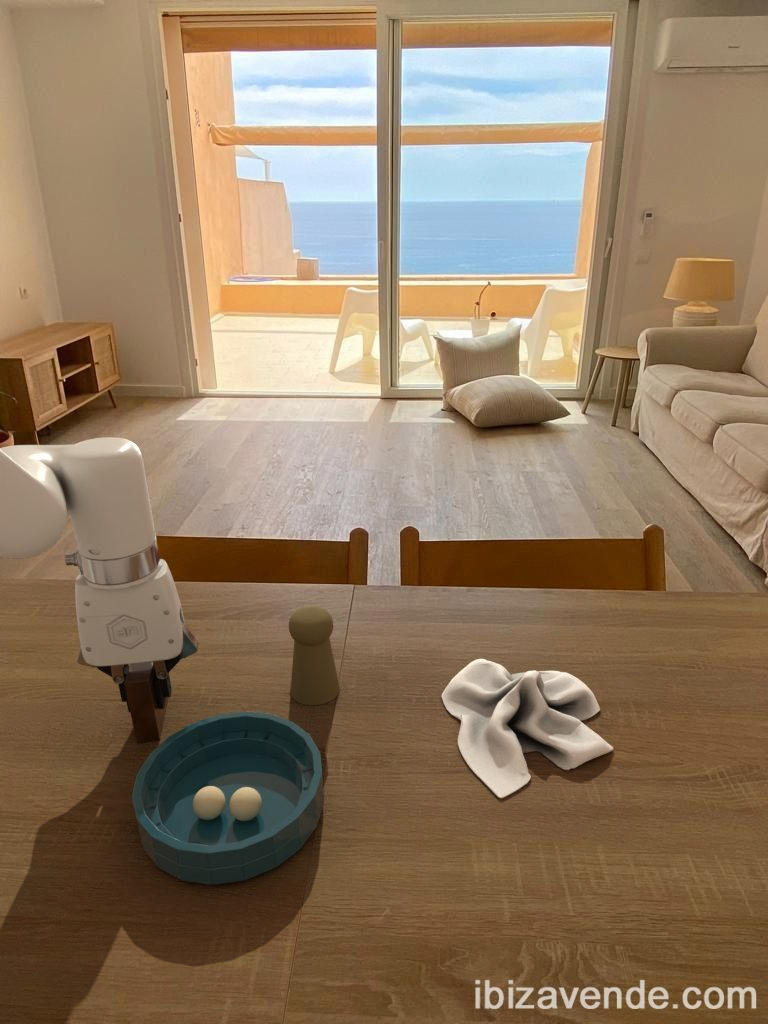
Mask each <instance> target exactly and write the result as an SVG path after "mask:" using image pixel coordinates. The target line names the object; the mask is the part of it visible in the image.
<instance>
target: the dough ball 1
mask: <svg viewBox="0 0 768 1024" xmlns="http://www.w3.org/2000/svg"><path fill="white" fill-rule="evenodd" d="M224 807H225V796H224V794H223V792H222V791H221V790H220V789H219V788H217V787H214V786H207V787H204V788H202V789H201V790H199V791H198V792H197V794H196V795H195V797H194V800H193V809H194V812H195V814H196V815H197V816H198V817H199V818H201V819H204V820H212V819H214V818H216V817H218V816H219V815H220V814H221V813H222V811H223V809H224Z"/></svg>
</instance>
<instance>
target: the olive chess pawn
mask: <svg viewBox="0 0 768 1024" xmlns="http://www.w3.org/2000/svg"><path fill="white" fill-rule="evenodd" d="M333 630H334V619H333V616H332V614H331V613H330V611H328V610H327V608H325V607H322V606H319V605H306V606H302V607H300V608H298V609H296V610H295V611H294V612H293V613H292V614H291V616H290V618H289V621H288V631H289V634H290V636H291V638H292V640H293V653H292V667H291V679H290V695H291V697H292V699H293V700H294V701H296V702H297V703H299V704H302V705H307V706H320V705H324V704H327V703H329V702H330V701H333V700H334V699H335V698H336V697H337V696H338V695H339V693H340V690H341V688H340V687H341V686H340V681H339V676H338V671H337V667H336V662H335V661H336V660H335V656H334V653H333V647H332V642H331V638H330V637H331V636H332V634H333V632H334V631H333Z"/></svg>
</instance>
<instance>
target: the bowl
mask: <svg viewBox="0 0 768 1024" xmlns="http://www.w3.org/2000/svg"><path fill="white" fill-rule="evenodd" d="M323 778H324V777H323V765H322V756H321V751H320V750H319V748H318V746H317V744H316V743H315V741H314V740H313V738H312V736H311V734H309V733H308V732H307V731H305V730H304V728H302V727H301V726H299V725H298V724H297V723H296V722H294V721H292V720H289V719H286V718H283V717H281V716H278V715H275V714H273V713H265V712H258V711H256V712H255V711H248V710H247V711H238V712H230V713H221V714H216V715H213V716H210V717H207V718H203V719H201V720H197V721H194V722H193V723H191V724H189V725H187V726H185V727H183V728H182V729H179V730H178V731H176V732H174V733H172V734H170V735H169V736H168V737H167V738H166V739H164V741H162V742H161V743H160V744H159V745H158V746H157V747H155V749H153V750H152V751H151V752H150V753H149V754H148V756H147V758H146V760H145V761H144V763H143V764H142V765H141V767H140V769H139V771H138V772H137V774H136V777H135V781H134V786H133V791H132V795H131V799H132V805H133V809H134V813H135V818H136V823H137V828H138V832H139V836H140V841H141V846H142V849H143V851H144V852H145V854H146V855H148V858H150V859H151V861H152V863H153V864H154V865H155V866H156V867H157V868H158V869H160V870H161V871H163V872H165V873H167V874H169V875H171V876H172V877H174V878H176V879H178V880H180V881H183V882H190V883H196V884H203V885H210V886H212V885H213V886H214V885H220V884H221V885H222V884H229V883H235V882H242V881H243V882H244V881H247V880H249V879H250V880H251V879H253V878H255V877H256V876H259V875H261V874H264V873H266V872H268V871H271V870H273V869H276V868H278V867H279V866H280V865H281V864H283V863H284V862H285V861H287V860H288V859H290V857H292V856H293V855H295V854H296V853H297V852H298V851H300V850H301V849H302V848H303V846H304V845H305V843H306V842H307V841H308V839H309V838H310V837H311V835H312V834H313V832H314V831H315V830H316V828H317V826H318V825H319V821H320V818H321V814H322V811H323V808H324V805H325V795H324V780H323ZM207 786H214V787H217V788H219V789H220V790H221V791H222V792H223V794H224V796H225V807H224V809H223V811H222V813H221V814H220V815H219V816H218V817H216V818H214V819H212V820H204V819H201V818H199V817H198V816H197V815H196V814H195V812H194V809H193V800H194V797H195V795H196V794H197V792H198V791H199V790H201V789H202V788H204V787H207ZM243 787H250V788H253V789H255V790H256V791H257V792H258V793H259V794H260V797H261V800H262V805H261V809H260V811H259V813H258V815H257V816H256V817H255V818H253V819H251V820H249V821H240V820H238V819H236V818H235V817H234V816H233V815H232V813H231V811H230V800H231V797H232V795H233V794H234V793H235V792H236V791H237V790H238V789H240V788H243Z"/></svg>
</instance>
